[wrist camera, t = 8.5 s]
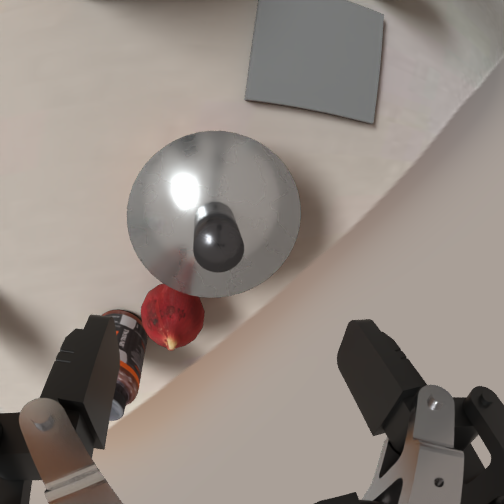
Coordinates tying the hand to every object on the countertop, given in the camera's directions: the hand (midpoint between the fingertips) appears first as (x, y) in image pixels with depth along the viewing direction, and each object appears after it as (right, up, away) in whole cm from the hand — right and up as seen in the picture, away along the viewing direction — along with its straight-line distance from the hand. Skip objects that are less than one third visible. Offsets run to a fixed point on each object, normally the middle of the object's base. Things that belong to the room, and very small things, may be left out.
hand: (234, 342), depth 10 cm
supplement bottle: (-14, -5, +22) cm, 26 cm away
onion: (-7, -1, +21) cm, 22 cm away
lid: (-2, +6, +12) cm, 14 cm away
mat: (+6, +21, +13) cm, 26 cm away
